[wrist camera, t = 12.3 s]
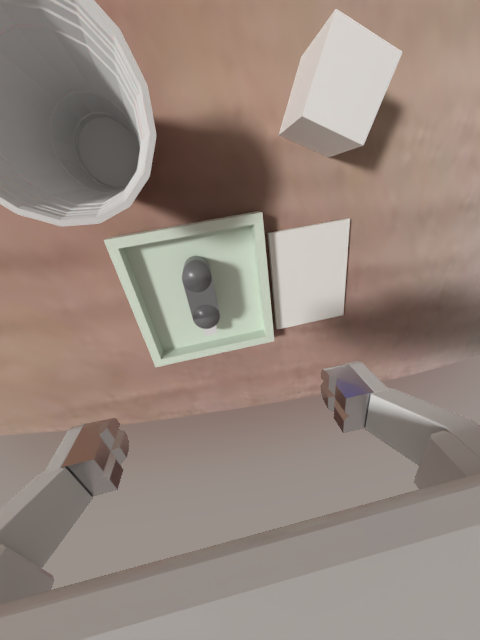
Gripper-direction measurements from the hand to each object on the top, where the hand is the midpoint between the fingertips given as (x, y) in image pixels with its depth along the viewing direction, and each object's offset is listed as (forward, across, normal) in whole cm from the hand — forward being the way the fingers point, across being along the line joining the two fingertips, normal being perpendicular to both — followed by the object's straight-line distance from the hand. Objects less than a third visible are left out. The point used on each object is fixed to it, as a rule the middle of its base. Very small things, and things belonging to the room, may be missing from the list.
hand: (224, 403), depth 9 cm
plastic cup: (+22, +6, -12) cm, 25 cm away
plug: (+21, +1, +2) cm, 21 cm away
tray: (+21, +1, +3) cm, 22 cm away
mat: (+22, -13, +4) cm, 25 cm away
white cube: (+22, -14, -13) cm, 29 cm away
